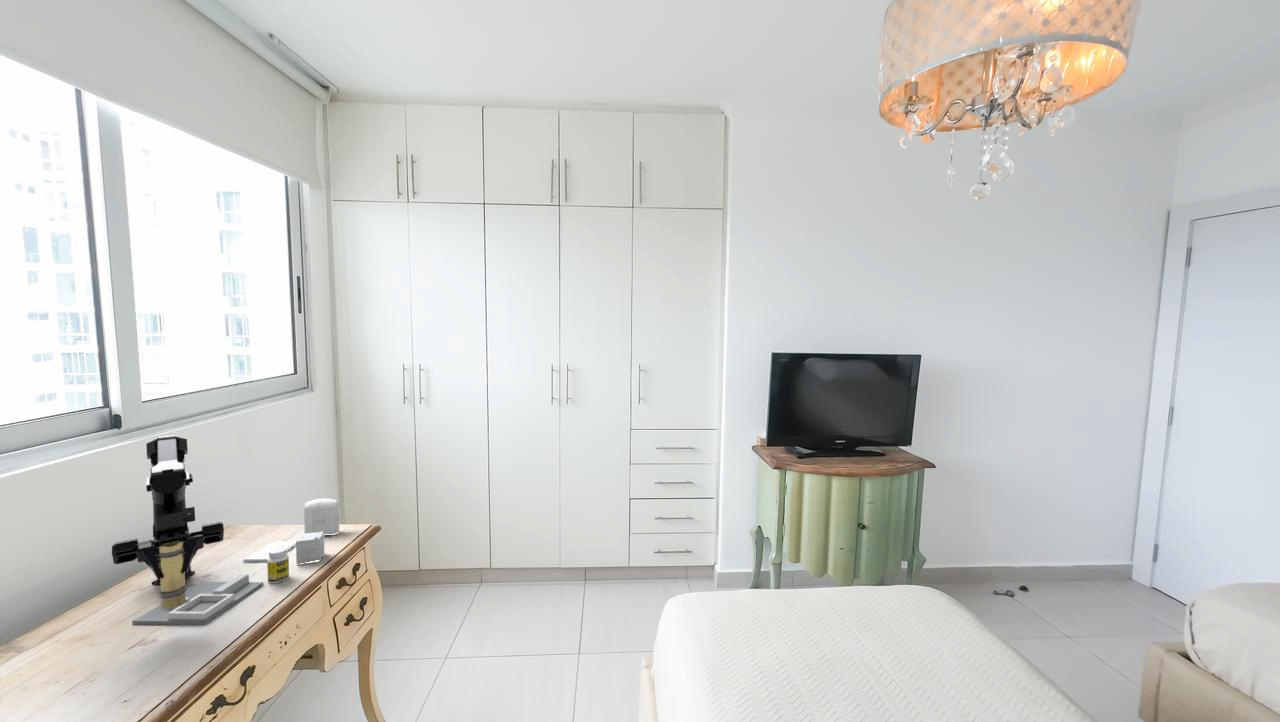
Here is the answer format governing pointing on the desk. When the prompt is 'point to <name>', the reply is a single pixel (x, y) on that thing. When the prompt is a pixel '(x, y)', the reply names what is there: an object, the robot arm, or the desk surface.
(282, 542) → the external hard drive
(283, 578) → the supplement bottle
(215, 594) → the coupling station
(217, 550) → the desk surface
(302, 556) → the skincare box
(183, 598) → the disc
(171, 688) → the desk surface
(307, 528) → the photo printer
